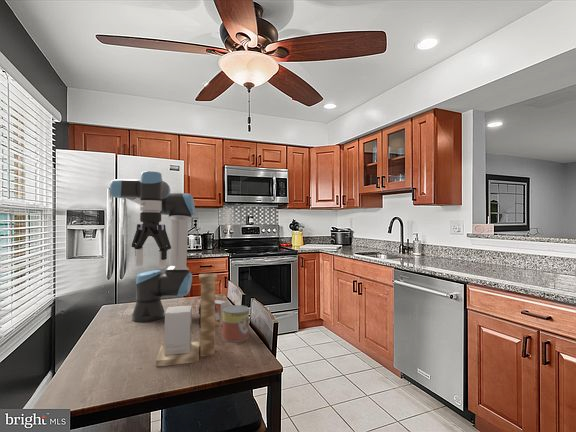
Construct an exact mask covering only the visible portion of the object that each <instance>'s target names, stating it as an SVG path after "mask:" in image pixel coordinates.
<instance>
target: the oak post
mask: <svg viewBox="0 0 576 432" xmlns="http://www.w3.org/2000/svg"><path fill="white" fill-rule="evenodd" d="M198 280H199V281H200V304H199V307H198V315H199V317H198V326H199V329H200V353H199V357H208V356H215V353H216V352H215V350H216V349H215V347H216V344H215V341H216V340H215V337H216V336H215V335H216V333H215V332H216V329H215V328H216V327H215V326H216V325H215V300H216V280H218V274H217V273H215V272H213V273H212V272H211V273H199V274H198Z"/></svg>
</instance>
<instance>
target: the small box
mask: <svg viewBox="0 0 576 432" xmlns="http://www.w3.org/2000/svg"><path fill="white" fill-rule="evenodd" d="M227 306H228V301H227V300H221V299H219V300H218V299H215V326H218V327H221V326H223V311H222V309H223V308H224V307H227Z"/></svg>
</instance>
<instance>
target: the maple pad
mask: <svg viewBox="0 0 576 432" xmlns="http://www.w3.org/2000/svg"><path fill="white" fill-rule="evenodd" d="M199 361H200V341H199V340H198V341H197V340H196V341H191V350H190V353H184V354H172V355H164V344H161V345H160V348H159V351H158V353H157V357H156V360H155V367H157V368H158V367H167V366H173V365H182V364H191V363H193V364H194V363H199Z"/></svg>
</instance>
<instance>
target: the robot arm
mask: <svg viewBox="0 0 576 432" xmlns="http://www.w3.org/2000/svg"><path fill="white" fill-rule="evenodd" d="M162 177H163V176H162V173H161V172H159V171H147V170H145V171H142V172H141V173H140V179H123V178H122V179H121V178H120V179H119V178H118V179H113V180H111V181H110V184H109V192H110V195H111V196H112V197H113V198H115V199H116V198H118V199H122V198H123V199H127V200H129V201H131V202H133V203H136V204H138V205H140V209H139V210H140V214H139V215H140V216H139V217H140V218H139V221H140V223H138V224H136V231H135V233H134V237H133V240H132V242H131V248H134V253H135V255H134V257H135V267H139V266H141V267H142V266H144V247H143V246H144V245H145V243H146V241H147V239H149V237H152V238H153V239H154V241H155V243H156V245H157V247H158V248H159V250H158V270H157V269H156V270H155V269H153V270H149V271H144V272H140V273H138V274H137V276H136V277H135V278H136V280H135V306H134V308H133V311H132V313H131V320H132V321H133V322H136V323H137V322H139V323H143V322H144V323H145V322H153V321H158V320H160V319H163V318H165V310H164V306H163V304H162V297H185V296H187V295H189V292H190V291H191V287H192V281H193V273H192V272H190V269H189V267H188V266H187V257H188V253H187V252H188V239H189V238H188V236H189V235H188V234H189V221H191V220H192V216H194V215H195V214H196V207H195V205H196V204H195V200H194V197H193V195H192V194H191V193H184V192H182V193H181V192H179V193H178V192H177V193H175V192H174V193H173V192H172V193H171V187H170V185H169V184H168V183H167V182H166V181H165V180H163V178H162ZM163 215H164V216H168V219H170V221H171V223H170V224H171V225H170V239H169V236H168V233H167V230H166V229H167V228H166V225H165V224H160V223H161V222H162V216H163ZM168 251H169V257H167V255H168V253H167V252H168ZM168 258H169V259H168ZM167 259H168V266H167ZM162 269H165V271H164V272H165V273H163V272H162Z"/></svg>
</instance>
